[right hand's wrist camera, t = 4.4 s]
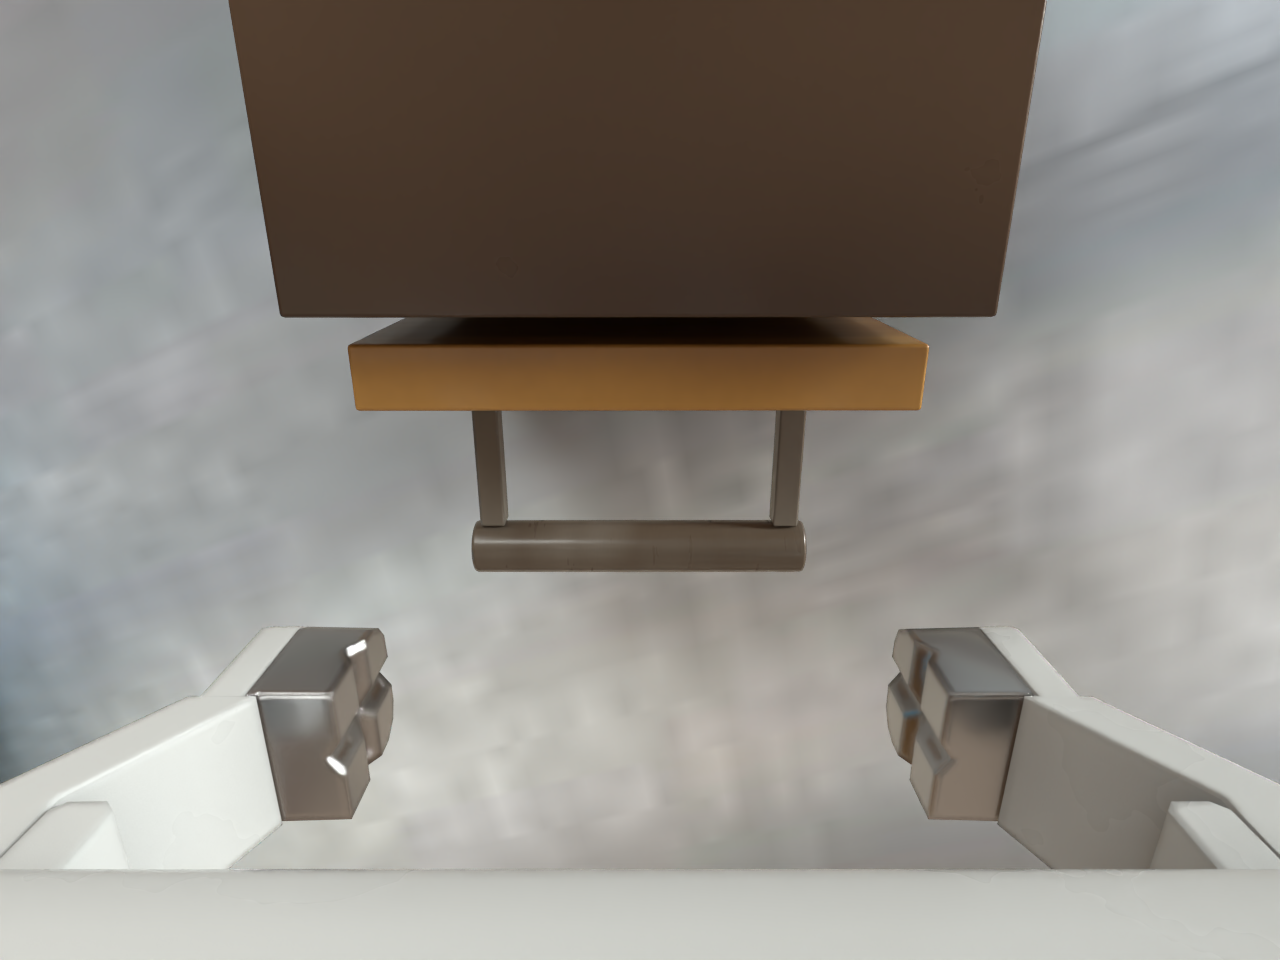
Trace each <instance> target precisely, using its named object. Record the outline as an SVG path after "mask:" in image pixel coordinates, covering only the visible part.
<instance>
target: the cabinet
mask: <svg viewBox="0 0 1280 960" xmlns="http://www.w3.org/2000/svg"><path fill="white" fill-rule="evenodd" d="M228 1H229V7H230V13H231V19H232V25H233V31H234V37H235V43H236V49H237V55H238V61H239V68H240V74H241V80H242V86H243V92H244V98H245V104H246V110H247V116H248V122H249V128H250V134H251V141H252V147H253V153H254V159H255V165H256V171H257V177H258V183H259V189H260V195H261V201H262V208H263V214H264V220H265V226H266V232H267V238H268V244H269V250H270V256H271V262H272V268H273V274H274V281H275V287H276V293H277V299H278V305H279V311H280V315H281V316H282V317H285V318H383V317H993V316H995V315H996V313H997V307H998V301H999V294H1000V288H1001V282H1002V276H1003V270H1004V263H1005V257H1006V251H1007V245H1008V239H1009V232H1010V226H1011V220H1012V214H1013V208H1014V201H1015V195H1016V189H1017V183H1018V177H1019V170H1020V164H1021V158H1022V152H1023V146H1024V139H1025V133H1026V127H1027V121H1028V115H1029V108H1030V102H1031V96H1032V90H1033V83H1034V77H1035V71H1036V65H1037V59H1038V52H1039V46H1040V40H1041V34H1042V28H1043V21H1044V15H1045V9H1046V3H1047V0H228Z"/></svg>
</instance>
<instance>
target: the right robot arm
mask: <svg viewBox="0 0 1280 960" xmlns="http://www.w3.org/2000/svg"><path fill="white" fill-rule="evenodd" d="M387 657H388V655H387V649H386V644H385V638H384V635H383V633H382V632H381V631H380V630H379V628H343V627H303V626H287V627H268V628H263V629H261V630H260V631H259V632H258V633H257V634H256V636H255V637H254V638H253V639H252V640H251V641H250V642H249V643H248V644H247V646H246V647H245V648H244V649H243V650H242V651H241V652H240V653H239V654H238V655H237V657H236V658H235V659H234V660H233V661H232V662H231V663H230V664H229V665H228V666H227V668H226V669H225V670H224V671H223V672H222V673H221V674H220V675H219V676H218V677H217V679H216V680H215V681H214V682H213V683H212V684H211V685H210V686H209V687H208V688H207V690H206V691H205V692H204V693H203V694H202V695H201V696H188V697H186V698H184V699H181V700H179V701H177V702H175V703H173V704H171V705H169V706H166V707H164V708H162V709H160V710H158V711H156V712H154V713H151V714H149V715H147V716H145V717H143V718H141V719H138V720H136V721H134V722H132V723H130V724H128V725H126V726H123V727H121V728H119V729H117V730H115V731H113V732H111V733H108V734H106V735H104V736H102V737H100V738H98V739H96V740H93V741H91V742H89V743H87V744H85V745H83V746H81V747H78V748H76V749H74V750H72V751H70V752H68V753H66V754H63V755H61V756H59V757H57V758H55V759H53V760H51V761H48V762H46V763H44V764H42V765H40V766H38V767H36V768H33V769H31V770H29V771H27V772H25V773H23V774H21V775H18V776H16V777H14V778H12V779H10V780H8V781H6V782H3V783H1V784H0V960H1280V784H1278V783H1276V782H1274V781H1272V780H1269V779H1267V778H1265V777H1263V776H1261V775H1259V774H1257V773H1255V772H1252V771H1250V770H1248V769H1246V768H1244V767H1242V766H1240V765H1237V764H1235V763H1233V762H1231V761H1229V760H1227V759H1225V758H1222V757H1220V756H1218V755H1216V754H1214V753H1212V752H1210V751H1208V750H1205V749H1203V748H1201V747H1199V746H1197V745H1195V744H1193V743H1190V742H1188V741H1186V740H1184V739H1182V738H1180V737H1178V736H1175V735H1173V734H1171V733H1169V732H1167V731H1165V730H1163V729H1160V728H1158V727H1156V726H1154V725H1152V724H1150V723H1148V722H1146V721H1143V720H1141V719H1139V718H1137V717H1135V716H1133V715H1131V714H1128V713H1126V712H1124V711H1122V710H1120V709H1118V708H1116V707H1113V706H1111V705H1109V704H1107V703H1105V702H1103V701H1101V700H1099V699H1096V698H1094V697H1092V696H1079V695H1078V694H1077V693H1076V692H1075V691H1074V690H1073V689H1072V688H1071V686H1070V685H1069V684H1068V683H1067V682H1066V681H1065V680H1064V679H1063V678H1062V676H1061V675H1060V674H1059V673H1058V672H1057V671H1056V670H1055V669H1054V668H1053V667H1052V665H1051V664H1050V663H1049V662H1048V661H1047V660H1046V659H1045V658H1044V657H1043V656H1042V654H1041V653H1040V652H1039V651H1038V650H1037V649H1036V648H1035V647H1034V646H1033V644H1032V643H1031V642H1030V641H1029V640H1028V639H1027V638H1026V637H1025V636H1024V635H1023V633H1022V632H1021V631H1020V630H1019V629H1016V628H1014V627H1011V626H996V627H967V628H926V629H901V630H899V631H898V633H897V636H896V638H895V641H894V648H893V654H892V657H893V659H894V661H895V663H896V665H897V666H898V668H899V670H900V673H899V674H898V675H897V676H896V677H895V678H894V679H893V680H892V681H891V683H890V684H889V685H888V693H887V703H886V710H887V722H888V729H889V733H890V736H891V740H892V743H893V745H894V747H895V750H896V752H897V754H898V756H900V757H901V758H903V759H904V760H906V761H907V762H908V763H910V764H911V765H912V767H911V774H910V782H911V784H912V786H913V788H914V790H915V792H916V794H917V796H918V798H919V801H920V803H921V805H922V807H923V809H924V811H925V813H926V815H927V817H928V819H943V820H979V821H998V823H997V824H998V825H999V826H1000V827H1001V828H1003V829H1004V830H1005V831H1006V832H1007V833H1009V834H1010V835H1011V836H1012V837H1014V838H1015V839H1016V840H1017V841H1018V842H1020V843H1021V844H1022V845H1023V846H1024V847H1026V848H1027V849H1028V850H1029V851H1030V852H1032V853H1033V854H1034V855H1035V856H1036V857H1038V858H1039V859H1040V860H1041V861H1043V862H1044V863H1045V864H1046V865H1047V866H1049V867H1050V868H1051V869H229V868H230V867H232V866H233V865H234V864H235V863H236V862H238V861H239V860H240V859H241V858H243V857H244V856H245V855H246V854H247V853H249V852H250V851H251V850H252V849H253V848H255V847H256V846H257V845H258V844H259V843H261V842H262V841H263V840H264V839H265V838H267V837H268V836H269V835H270V834H272V833H273V832H274V831H275V830H276V829H278V828H279V827H280V826H281V825H282V821H300V820H335V819H352V817H353V815H354V813H355V811H356V809H357V807H358V805H359V803H360V800H361V798H362V796H363V794H364V792H365V790H366V788H367V786H368V784H369V782H370V774H369V767H368V765H369V764H370V763H371V762H373V761H374V760H376V759H377V758H379V757H380V756H382V754H383V752H384V749H385V747H386V745H387V743H388V740H389V736H390V731H391V726H392V722H393V693H392V685H391V684H390V683H389V682H388V680H387V679H386V678H385V677H384V676H383V675H382V674H381V673H380V670H381V668H382V666H383V664H384V663H385V661H386V659H387Z"/></svg>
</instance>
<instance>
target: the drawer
mask: <svg viewBox="0 0 1280 960" xmlns="http://www.w3.org/2000/svg"><path fill="white" fill-rule="evenodd" d="M928 352H929V346H928V345H927V344H925V343H923V342H921V341H919V340H917V339H915V338H913V337H911V336H909V335H907V334H905V333H903V332H901V331H899V330H897V329H894V328H892V327H890V326H888V325H886V324H884V323H882V322H880V321H878V320H876V319H874V318H872V317H406V318H404V319H402V320H400V321H398V322H396V323H394V324H392V325H390V326H388V327H386V328H384V329H381V330H379V331H377V332H375V333H373V334H371V335H369V336H367V337H365V338H363V339H361V340H359V341H356V342H354V343H352V344H350V345H348V354H349V361H350V369H351V376H352V383H353V391H354V398H355V406H356V409H357V410H359V411H472V421H473V433H474V446H475V458H476V471H477V483H478V495H479V508H480V521H477V522H476V524H475V527H474V530H473V535H472V560H473V565H474V568H475V570H476V571H478V572H799V571H802V570H803V568H804V565H805V561H806V535H805V529H804V526H803V524H802V522H801V521H799V520H798V510H799V497H800V484H801V471H802V459H803V446H804V433H805V420H806V410H920V409H921V405H922V397H923V390H924V382H925V375H926V367H927V360H928ZM730 410H776V422H775V437H774V453H773V469H772V484H771V500H770V515H769V516H770V519H771V520H507V519H508V501H507V486H506V471H505V456H504V441H503V426H502V411H730Z"/></svg>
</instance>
